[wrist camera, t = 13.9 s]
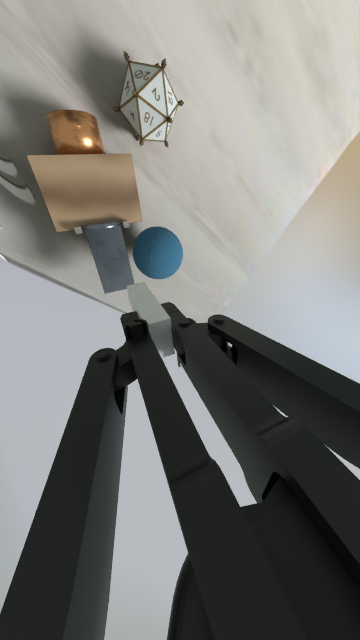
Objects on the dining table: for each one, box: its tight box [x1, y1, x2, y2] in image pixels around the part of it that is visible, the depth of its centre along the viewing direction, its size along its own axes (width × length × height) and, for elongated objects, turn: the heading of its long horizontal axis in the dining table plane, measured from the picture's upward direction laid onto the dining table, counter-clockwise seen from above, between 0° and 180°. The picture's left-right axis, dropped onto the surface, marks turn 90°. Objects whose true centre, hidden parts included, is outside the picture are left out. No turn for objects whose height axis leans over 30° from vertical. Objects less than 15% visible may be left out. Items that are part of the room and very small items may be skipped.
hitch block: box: [27, 154, 142, 234], centre depth 28 cm, size 8×12×9 cm
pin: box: [46, 110, 104, 155], centre depth 28 cm, size 16×6×6 cm, turn 5°
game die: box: [113, 51, 184, 147], centre depth 26 cm, size 9×8×10 cm
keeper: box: [83, 220, 134, 293], centre depth 29 cm, size 10×5×1 cm, turn 5°
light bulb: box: [133, 227, 183, 279], centre depth 34 cm, size 8×8×12 cm
